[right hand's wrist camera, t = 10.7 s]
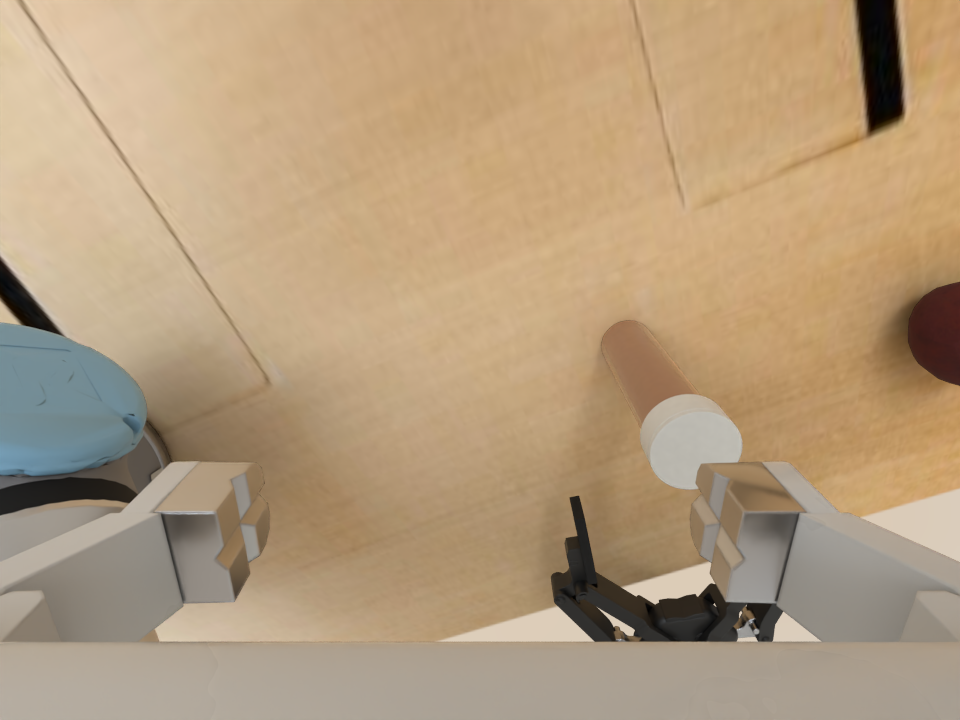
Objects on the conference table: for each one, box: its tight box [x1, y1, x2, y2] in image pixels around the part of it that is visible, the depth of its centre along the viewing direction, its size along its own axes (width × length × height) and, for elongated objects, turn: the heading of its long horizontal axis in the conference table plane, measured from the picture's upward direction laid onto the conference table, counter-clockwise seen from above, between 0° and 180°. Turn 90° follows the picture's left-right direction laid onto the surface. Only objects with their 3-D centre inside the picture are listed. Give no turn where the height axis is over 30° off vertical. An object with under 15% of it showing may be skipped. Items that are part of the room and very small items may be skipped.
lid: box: [640, 394, 742, 490], centre depth 30 cm, size 5×5×2 cm
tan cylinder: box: [601, 321, 700, 428], centre depth 36 cm, size 4×4×15 cm
